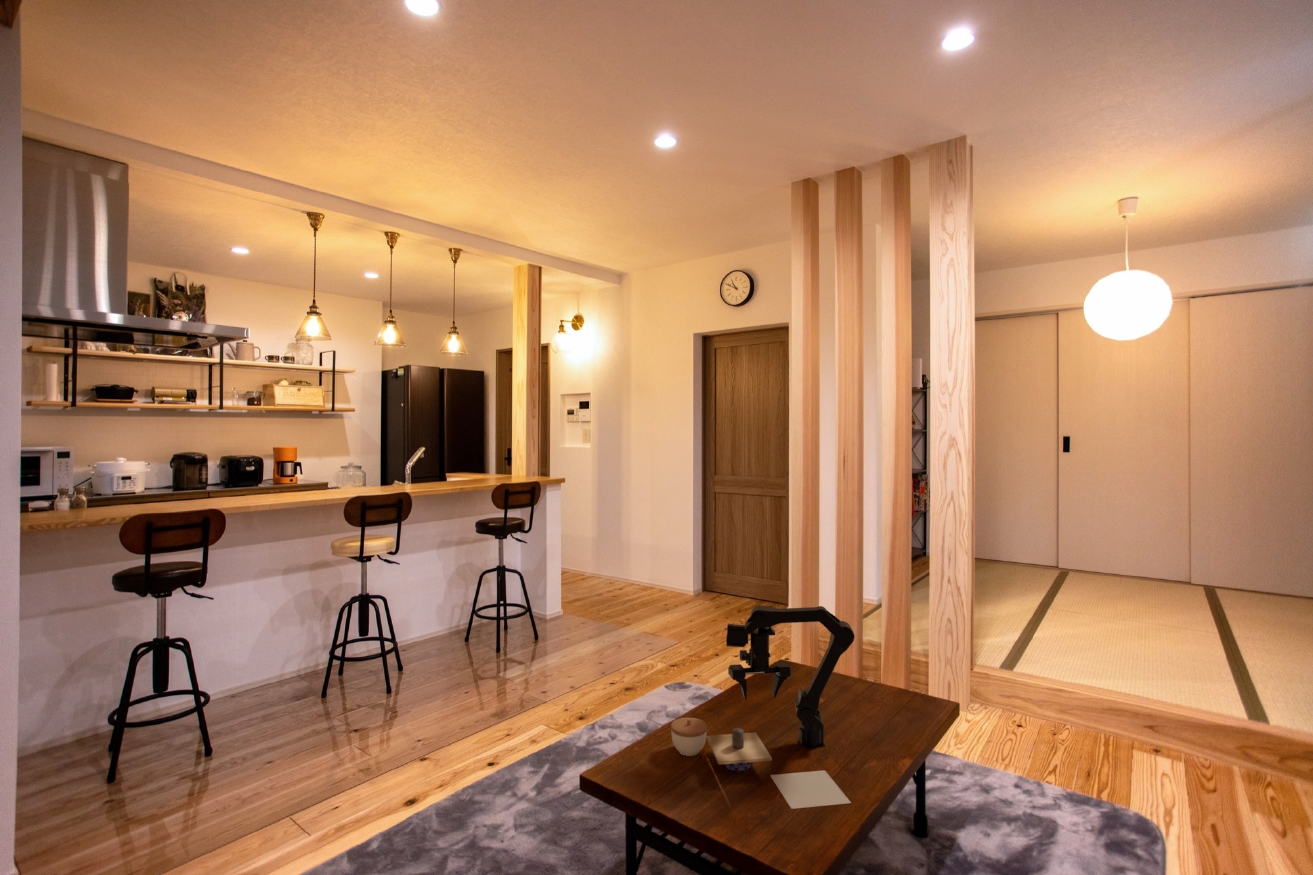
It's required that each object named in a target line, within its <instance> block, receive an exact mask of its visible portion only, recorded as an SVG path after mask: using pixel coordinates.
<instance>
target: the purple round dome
mask: <svg viewBox="0 0 1313 875" xmlns="http://www.w3.org/2000/svg"><path fill="white" fill-rule="evenodd" d="M723 765H724V767H726V769H727V770H730V771H734V772H741V771H743V772H746V771H748V770H749V769H750V768H752V762H746V763H733V764H723Z"/></svg>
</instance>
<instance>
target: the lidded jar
mask: <svg viewBox="0 0 1313 875" xmlns="http://www.w3.org/2000/svg"><path fill="white" fill-rule="evenodd" d="M670 729H671V731H670V732H671V740H672V744H673V747H675V749H676V750H677V751H678V753H679V754H681V755H682V756H685V755H686V757H693V756H697V755H698V754H699V753H700V751H702V749H703V748H704V746H705V744H706V741H707V739H706V736H707V733H708V732H707V730H708V725H707V723H706V722H705V721H704V720H702V719H701V718H700V719H699V718H696V717H681V718H678V719H675V720H673V721H672V722H671V724H670Z"/></svg>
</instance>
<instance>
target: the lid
mask: <svg viewBox="0 0 1313 875" xmlns="http://www.w3.org/2000/svg"><path fill="white" fill-rule="evenodd" d="M731 732H732V733H728V734H712V735H706V741H707V743H708V745H709V747H710V750H712V753H713V754H712V755H714V757H715V760H716V762H717V765H724V764H733V763H746V762H750V763H757V762H759V763H760V762H771V761H772V760H773V757H772V756H771V755H770V752H769V751H768V749H767V748H766V746H765V745H764V743H763V742H762V740H761V738H760V737H759V735H758V734H757V732H755V731H754V732H744V729H743V728H741V727H735V728H732V731H731Z"/></svg>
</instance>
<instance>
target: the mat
mask: <svg viewBox="0 0 1313 875" xmlns="http://www.w3.org/2000/svg"><path fill="white" fill-rule="evenodd" d="M770 778H771V780H773V782H774V784H775V785H776V787H777V789H778V790H779V792H780V793H781V794H782V797H783V798H784V800H785V801H786V803H787V804H788V805H789V808H790V809H791V810H795V809H804V808H805V809H806V808H814V807H815V808H816V807H824V806H825V807H826V806H834V805H835V806H836V805H846V804H847V805H848V804H852V802H851V801H850V799H849V798H848V797H847V796H846V795H845V793H844V792H843V791H842V789H841V788H840V787H839V785H837V783H836V782H835V781H834V779H833V778H831V776H830V775H829V773H828V772H827V771H826V770H816V771H814V770H813V771H801V772H791V773H781V774H780V773H779V774H770Z"/></svg>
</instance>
